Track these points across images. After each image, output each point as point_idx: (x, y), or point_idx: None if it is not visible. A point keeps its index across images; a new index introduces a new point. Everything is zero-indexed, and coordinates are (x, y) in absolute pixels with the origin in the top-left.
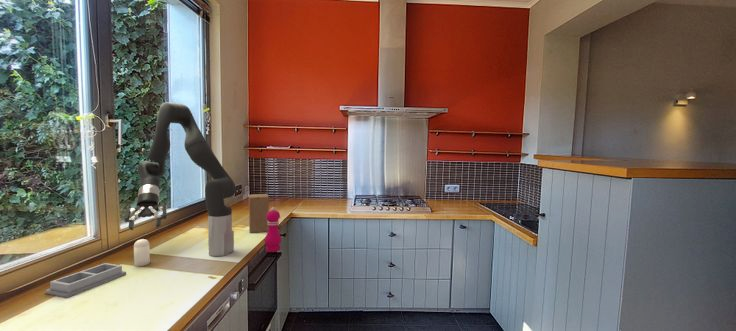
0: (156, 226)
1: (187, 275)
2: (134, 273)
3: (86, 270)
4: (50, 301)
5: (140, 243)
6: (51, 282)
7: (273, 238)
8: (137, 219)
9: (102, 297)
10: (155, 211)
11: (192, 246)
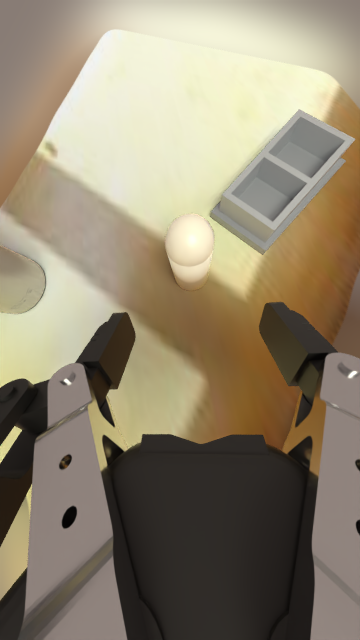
0: (129, 318)
1: (91, 170)
2: None
3: (301, 190)
4: None
5: (188, 213)
6: (349, 138)
7: None
8: (286, 439)
9: (220, 122)
10: (49, 459)
11: None
